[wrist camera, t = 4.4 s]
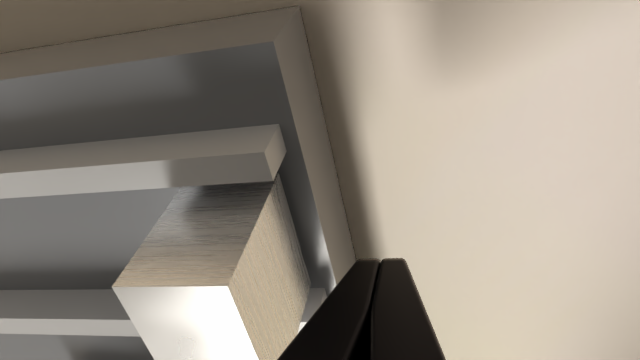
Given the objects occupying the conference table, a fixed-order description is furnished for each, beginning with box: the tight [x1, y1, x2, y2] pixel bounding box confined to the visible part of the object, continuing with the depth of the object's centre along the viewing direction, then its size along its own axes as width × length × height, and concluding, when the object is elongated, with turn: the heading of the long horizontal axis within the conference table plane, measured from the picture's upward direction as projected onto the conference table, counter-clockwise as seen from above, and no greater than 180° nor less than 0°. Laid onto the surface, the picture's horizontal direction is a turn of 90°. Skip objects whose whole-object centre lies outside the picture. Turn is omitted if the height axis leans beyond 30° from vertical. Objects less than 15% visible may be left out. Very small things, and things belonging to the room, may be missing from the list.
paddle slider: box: [112, 173, 311, 360], centre depth 10 cm, size 2×3×3 cm, turn 12°
